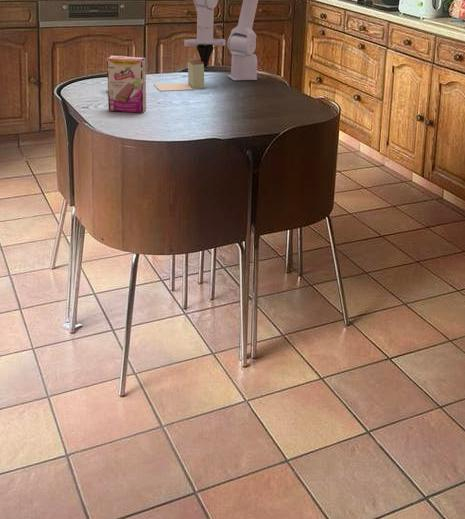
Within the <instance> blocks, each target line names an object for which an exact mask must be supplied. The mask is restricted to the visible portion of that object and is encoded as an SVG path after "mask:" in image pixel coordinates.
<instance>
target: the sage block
mask: <svg viewBox="0 0 465 519" xmlns="http://www.w3.org/2000/svg"><path fill="white" fill-rule="evenodd" d="M187 77H188V78H187V79H188V80H187V82H188V83H187V84H188V85H189V86H190V87H191V88H193V90H198V89H199V90H200V89H201V90H202V89H205V67H204V62H202V61H201V58H200V59H199V58H190V59H189V58H188V59H187Z"/></svg>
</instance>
